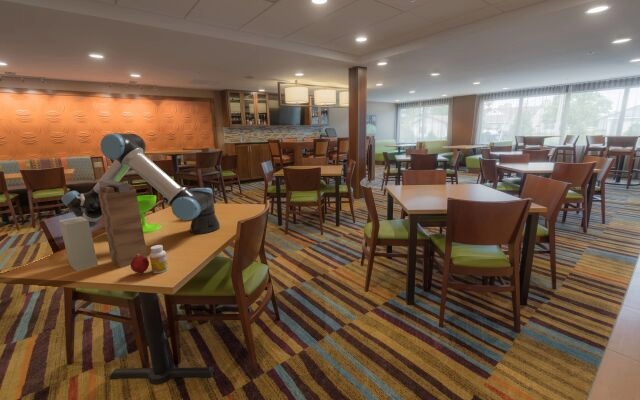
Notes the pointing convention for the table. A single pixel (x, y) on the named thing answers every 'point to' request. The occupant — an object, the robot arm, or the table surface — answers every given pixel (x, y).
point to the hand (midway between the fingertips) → (102, 193)
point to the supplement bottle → (158, 259)
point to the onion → (139, 264)
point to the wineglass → (144, 205)
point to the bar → (116, 185)
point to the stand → (122, 225)
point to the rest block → (78, 243)
